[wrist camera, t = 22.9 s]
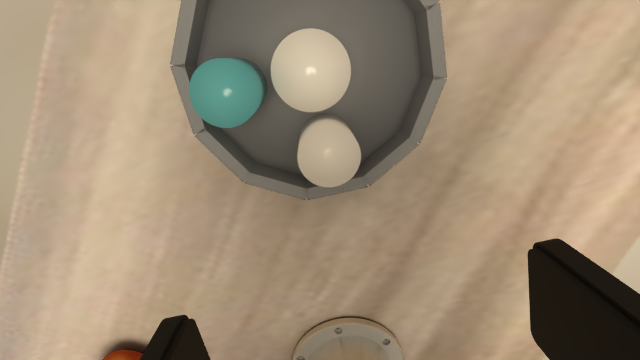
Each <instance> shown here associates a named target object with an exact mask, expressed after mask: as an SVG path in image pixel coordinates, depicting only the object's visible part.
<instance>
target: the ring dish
mask: <svg viewBox="0 0 640 360" xmlns="http://www.w3.org/2000/svg"><path fill="white" fill-rule="evenodd" d="M437 2H439V0H181V5H180V11H179V17H178V22H177V28H176V34H175V39H174V45H173V51H172V56H171V62H170V64H172V65H173V66H170V67H171V70H172V73H173V76H174V79H175V81H176V84H177V87H178V90H179V93H180V96H181V99H182V102H183V105H184V108H185V111H186V114H187V117H188V120H189V123H190V125H191V128H192V131H193V134H196V135H195V137H196V138H197V139H198V140H199V141H200V142H201V143H202V144H203V145H205V146H206V147H207V148H208V149H209V150H210V151H211V152H212V153H213V154H214V155H215V156H216V157H217V158H218V159H219V160H220V161H221V162H222V163H224V164H225V165H226V166H227V167H228V168H229V169H230V170H231V171H232V172H233V173H234V174H235V175H236V176H237V177H238V178H239V179H240V180H241V181H243V182H244V181H245V183H247V184H250V185H254V186H257V187H261V188H264V189H268V190H271V191H275V192H279V193H282V194H286V195H289V196H293V197H296V198H300V199H303V200H305V199H306V198H307V200H310V199H315V198H319V197H324V196H329V195H333V194H338V193H343V192H347V191H352V190H356V189H361V188H366V187H368V185H369V186H370V185H372V184H373V183H374V182H375V181H376V180H378V179H379V178H380V177H381V176H382V175H384V174H385V173H386V172H387V171H388V170H390V169H391V168H392V167H393V166H394V165H396V164H397V163H398V162H399V161H400V160H402V159H403V158H404V157H405V156H406V155H407V154H409V153H410V152H411V151H412V150H413V149H415V148H416V147H417V146H418V145H419V144H418V143H421V140H422V138H423V135H424V133H425V130H426V128H427V126H428V123H429V121H430V118H431V116H432V114H433V111H434V109H435V106H436V104H437V102H438V99H439V97H440V94H441V92H442V89H443V87H444V85H445V82H446V80H447V79H444V78H446V77H447V72H446V61H445V51H444V41H443V30H442V20H441V10H440V3H438V4H436V3H437ZM216 58H243V59H247V60H249V61H251V62H253V63H254V64H256V65H257V66H258V67H259V68H260V69H261V70H262V72H263V74H264V76H265V78H266V81H267V88H268V89H267V96H266V99H265V101H264V103H263V104H262V106H261V107H260V108H259V109H258V110H257V111H256V112H255V113H254V114H253V115H252V116H251V117H250V118H249V119H248V120H247V121H246V122H244V123H243V124H241V125H239V126H236V127H232V128H220V127H216V126H213V125H211V124H209V123H207V122H206V121H204V120H203V119H202V118H201V117H200V116H199V115H198V114H197V112H196V111H195V109H194V108H193V106H192V103H191V100H190V96H189V84H190V80H191V77H192V75H193V73H194V72H195V70H196V69H197V68H198V67H199V66H200V65H201V64H203V63H204V62H206V61H208V60H211V59H216ZM321 113H331V114H334V115H337V116H339V117H340V118H342V119H343V120H344V121H345V122H346V123H347V125H348V127H349V128H350V130H351V132H352V133H353V135H354V137H355V139H356V140H357V142H358V144H359V147H360V150H361V161H360V165H359V168H358V170H357V172H356V173H355V175H354V176H353V177H352V178H351V179H350V180H349V181H347V182H346V183H344V184H342V185H340V186H336V187H321V186H318V185H315V184H313V183H312V182H310V181H309V180H308V179H306V177H305V176H304V175H303V174H302V172H301V170H300V168H299V165H298V160H297V154H298V145H299V136H300V131H301V129H302V127H303V125H304V124H305V122H306V121H307V120H308V119H310V118H311V117H313V116H315V115H317V114H321ZM417 142H418V143H417ZM367 184H368V185H367Z"/></svg>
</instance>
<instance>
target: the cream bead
mask: <svg viewBox="0 0 640 360" xmlns="http://www.w3.org/2000/svg"><path fill="white" fill-rule="evenodd" d="M297 160H298V165H299V168H300V170H301V172H302V174H303V175H304V176H305V177H306V179H308V180H309V181H310V182H312V183H313V184H315V185H318V186H321V187H336V186H340V185H342V184H344V183H346V182H347V181H349V180H350V179H351V178H352V177H353V176H354V175H355V173H356V172H357V170H358V168H359V165H360V161H361V150H360V147H359V144H358V142H357V140H356V139H355V137H354V135H353V133H352V132H351V130H350V128H349V127H348V125H347V123H346V122H345V121H344V120H343V119H342V118H340V117H339V116H337V115H334V114H331V113H321V114H317V115H315V116H313V117H311V118H310V119H308V120H307V121H306V122H305V124H304V125H303V127H302V129H301V131H300V136H299V145H298V154H297Z"/></svg>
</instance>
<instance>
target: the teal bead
mask: <svg viewBox="0 0 640 360" xmlns="http://www.w3.org/2000/svg"><path fill="white" fill-rule="evenodd" d="M267 89H268V88H267V81H266V78H265V76H264V74H263V72H262V70H261V69H260V68H259V67H258V66H257V65H256V64H254V63H253V62H251V61H249V60H247V59H243V58H216V59H211V60H208V61H206V62H204V63H203V64H201V65H200V66H199V67H198V68H197V69H196V70H195V72H194V73H193V75H192V77H191V80H190V84H189V96H190V100H191V103H192V106H193V108H194V109H195V111H196V112H197V114H198V115H199V116H200V117H201V118H202V119H203V120H204V121H206V122H207V123H209V124H211V125H213V126H216V127H220V128H232V127H236V126H239V125H241V124H243V123H244V122H246V121H247V120H248V119H249V118H250V117H251V116H252V115H253V114H254V113H255V112H256V111H257V110H258V109H259V108H260V107H261V106H262V104H263V103H264V101H265V99H266V96H267Z"/></svg>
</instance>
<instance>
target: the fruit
mask: <svg viewBox="0 0 640 360" xmlns="http://www.w3.org/2000/svg"><path fill="white" fill-rule="evenodd" d="M142 355H143V354H142V353H140V352H137V351H133V350H118V351H114V352H112V353H110V354H108V355H107V356H106V357H105V358H104V359H103V360H140V358H141V356H142Z"/></svg>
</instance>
